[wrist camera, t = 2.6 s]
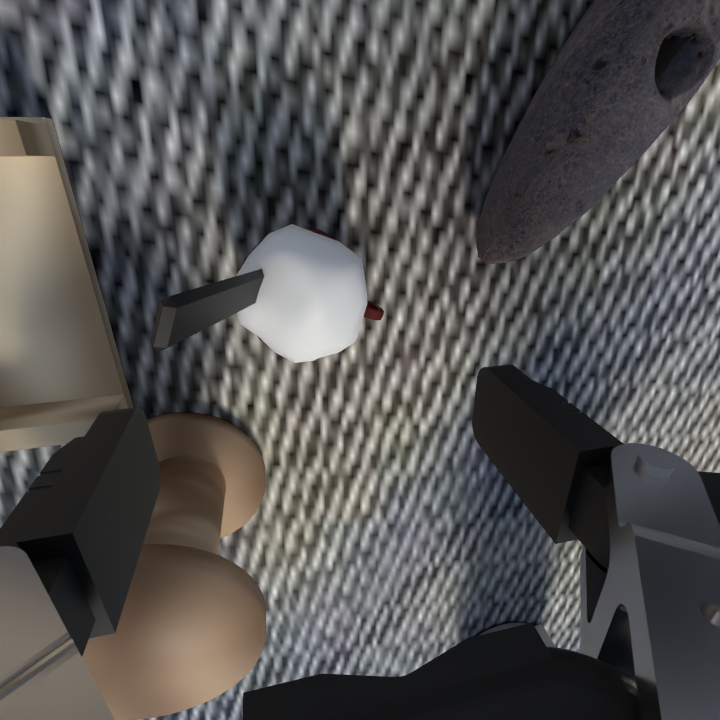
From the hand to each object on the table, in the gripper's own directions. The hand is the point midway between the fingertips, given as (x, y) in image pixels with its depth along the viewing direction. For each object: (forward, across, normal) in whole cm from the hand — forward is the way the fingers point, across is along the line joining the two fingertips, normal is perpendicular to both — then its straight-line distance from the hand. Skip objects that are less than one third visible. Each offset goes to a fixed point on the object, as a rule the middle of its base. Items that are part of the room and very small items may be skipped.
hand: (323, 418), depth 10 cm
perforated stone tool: (+15, -14, -7) cm, 22 cm away
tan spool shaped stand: (+15, +8, +13) cm, 21 cm away
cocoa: (+15, 0, 0) cm, 15 cm away
